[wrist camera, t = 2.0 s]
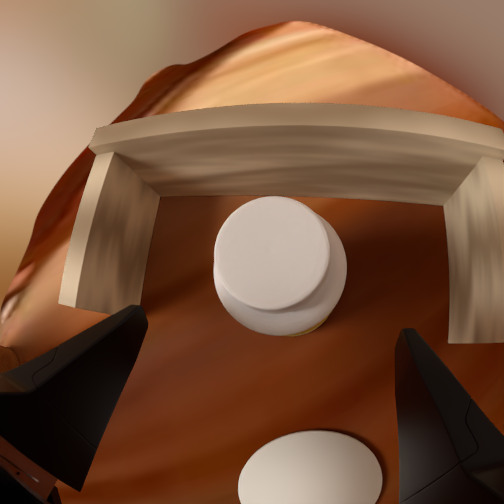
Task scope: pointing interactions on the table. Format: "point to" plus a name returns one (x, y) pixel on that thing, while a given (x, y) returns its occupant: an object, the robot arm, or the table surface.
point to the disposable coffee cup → (7, 359)
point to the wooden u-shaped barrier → (294, 189)
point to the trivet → (311, 471)
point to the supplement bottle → (279, 267)
